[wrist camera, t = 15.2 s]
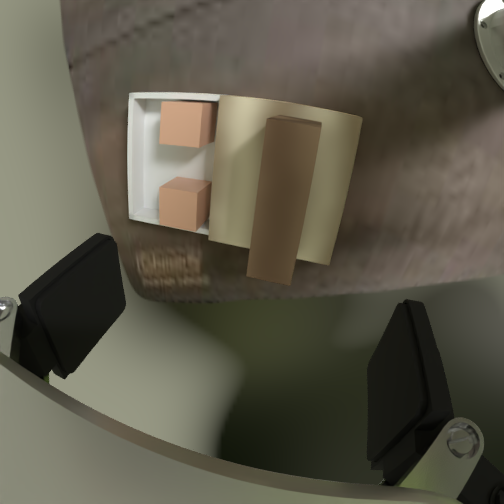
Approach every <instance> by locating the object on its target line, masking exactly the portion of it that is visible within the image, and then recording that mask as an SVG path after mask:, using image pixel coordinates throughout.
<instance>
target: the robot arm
mask: <svg viewBox="0 0 504 504" xmlns="http://www.w3.org/2000/svg"><path fill="white" fill-rule="evenodd" d="M474 33H475V39H476V43H477V47H478V50H479V52H480V55H481V58H482V60H483V62H484V64H485V66H486V68H487V69H488V71H489V72H490V74H491V76H492V77H493V79H494V80H495V81H496V82H497V84H498V85H499V86H500V87H501V88H502V89H503V90H504V0H484V1H483V2H481V3H480V5H479V6H478V8H477V10H476V13H475V17H474ZM499 75H500V76H499ZM19 299H20V301H21V304H20V305H19V306H18V305H17V302H16V300H14V299H13V298H10V297H1V298H0V504H504V475H503V474H502V473H501V472H500V471H499V470H498V469H497V468H496V467H495V466H494V465H492V464H491V463H490V462H489V461H488V460H487V459H486V458H484V456H482V452H483V449H484V439H483V435H482V433H481V431H480V429H479V427H477V425H475V424H474V423H473V422H472V421H470V420H468V419H465V418H454V414H453V408H452V403H451V398H450V394H449V389H448V385H447V381H446V377H445V372H444V368H443V364H442V360H441V357H440V353H439V351H438V348H437V345H436V342H435V339H434V336H433V332H432V329H431V325H430V322H429V319H428V316H427V313H426V309H425V306H424V304H423V303H422V302H418V301H413V300H408V299H406V300H405V301H404V302H403V303H399V304H398V305H397V306H396V309H395V311H394V313H393V315H392V317H391V319H390V321H389V323H388V325H387V328H386V330H385V332H384V334H383V336H382V338H381V340H380V342H379V344H378V346H377V348H376V350H375V352H374V353H373V355H372V357H371V359H370V361H369V364H368V368H367V381H368V382H367V384H368V437H367V439H368V440H367V459H368V461H371V470H383V478H384V480H383V481H382V482H381V483H380V484H379V485H369V484H354V483H342V482H333V481H325V480H318V479H311V478H304V477H298V476H291V475H286V474H280V473H275V472H270V471H265V470H260V469H256V468H252V467H247V466H243V465H239V464H235V463H232V462H228V461H224V460H221V459H217V458H214V457H210V456H207V455H204V454H201V453H198V452H195V451H191V450H188V449H186V448H182V447H180V446H177V445H174V444H171V443H169V442H166V441H163V440H161V439H158V438H155V437H153V436H151V435H148V434H145V433H143V432H141V431H139V430H136V429H134V428H132V427H129V426H127V425H125V424H123V423H121V422H119V421H116V420H114V419H112V418H110V417H108V416H106V415H104V414H102V413H100V412H98V411H96V410H94V409H92V408H90V407H88V406H86V405H85V404H83V403H81V402H79V401H77V400H75V399H74V398H72V397H70V396H68V395H67V394H65V393H63V392H61V391H60V390H58V389H56V388H55V387H53V386H51V385H50V384H49V372H50V371H51V370H52V371H53V372H54V373H55V374H56V375H58V376H60V377H61V378H63V379H66V377H67V376H68V375H69V374H70V373H73V372H74V371H75V370H76V369H77V368H78V366H79V365H80V364H81V363H82V361H83V360H84V359H85V357H86V356H87V355H88V354H89V352H90V351H91V350H92V349H93V347H94V346H95V345H96V344H97V343H98V341H99V340H100V339H101V338H102V336H103V335H104V334H105V333H106V331H107V330H108V329H109V328H110V327H111V325H112V324H113V323H114V322H115V321H116V319H117V318H118V317H119V316H120V315H121V313H122V312H123V311H124V309H125V306H126V301H125V295H124V289H123V283H122V277H121V271H120V264H119V257H118V249H117V244H116V242H115V241H114V239H113V237H111V236H109V235H104V234H100V233H96V234H95V235H93V236H92V237H91V238H89V239H88V240H86V241H85V242H84V243H82V244H81V245H80V246H78V247H77V248H76V249H74V250H73V251H72V252H70V253H69V254H68V255H67V256H65V257H64V258H63V259H61V260H60V261H59V262H58V263H56V264H55V265H54V266H53V267H51V268H50V269H49V270H48V271H46V272H45V273H44V274H43V275H41V276H40V277H39V278H38V279H37V280H35V281H34V282H33V283H32V284H31V285H29V287H27V288H26V289H25V290H24V291H23V292H21V293H20V294H19Z"/></svg>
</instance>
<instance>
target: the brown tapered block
mask: <svg viewBox="0 0 504 504" xmlns="http://www.w3.org/2000/svg"><path fill="white" fill-rule="evenodd" d="M321 127H322V122H318V121H313V120H308V119H302V118H297V117H291V116H284V115H277V116H273V117H270V118H267V120H266V128H265V136H264V143H263V151H262V159H261V166H260V174H259V182H258V189H257V197H256V205H255V212H254V220H253V228H252V236H251V243H250V251H249V259H248V267H247V274H246V276H247V277H251V278H256V279H260V280H265V281H269V282H274V283H279V284H283V285H288V286H290V285H291V280H292V276H293V271H294V267H295V262H296V258H297V253H298V248H299V244H300V239H301V234H302V229H303V224H304V219H305V214H306V209H307V204H308V199H309V194H310V189H311V184H312V178H313V173H314V168H315V162H316V157H317V151H318V145H319V139H320V134H321Z"/></svg>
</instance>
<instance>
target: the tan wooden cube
mask: <svg viewBox="0 0 504 504" xmlns="http://www.w3.org/2000/svg"><path fill="white" fill-rule="evenodd" d="M211 188H212V182H211V181H205V180H198V179H191V178H185V177H175V178H174V179H172V180H170V181H169V182H167V183H165V184H164V185H162V186H160V187H159V221H160V225H164V226H169V227H174V228H179V229H184V230H189V231H194V232H196V231H197V230H198V229H199V228H200V227H201V226H202V225H203V223H204V222H205V221H206V220H207V219H208V218H209V217H210V202H211Z"/></svg>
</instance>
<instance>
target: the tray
mask: <svg viewBox="0 0 504 504" xmlns="http://www.w3.org/2000/svg"><path fill="white" fill-rule="evenodd" d="M220 95H221V94H206V93H184V92H138V93H129V110H128V146H127V165H128V202H129V219H132V220H137V221H142V222H147V223H152V224H157V225H160V221H159V187H160V186H162V185H164V184H165V183H167V182H169V181H170V180H172V179H174V178H175V177H185V178H191V179H198V180H205V181H211V182H212V177H213V164H214V152H215V141H216V130H217V119H218V109H219V100H220ZM178 100H184V101H203V102H217V103H218V106H217V116H216V126H215V137H214V142H212V143H209V144H207V145H205V146H202V147H200V148H196V147H187V146H177V145H166V144H159V138H160V118H161V103H162V102H164V101H178ZM211 191H212V188H211ZM210 205H211V202H210ZM209 221H210V217H209V218H208V219H207V220H206V221H205V222H204V223H203V225H202V226H201V227H200V228H199V229H198V230H197V231H196V233H201V234H206V235H209ZM162 226H164V225H162ZM167 227H169V226H167ZM172 228H174V227H172ZM176 229H179V228H176ZM181 230H184V229H181ZM186 231H189V230H186ZM191 232H194V231H191Z"/></svg>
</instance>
